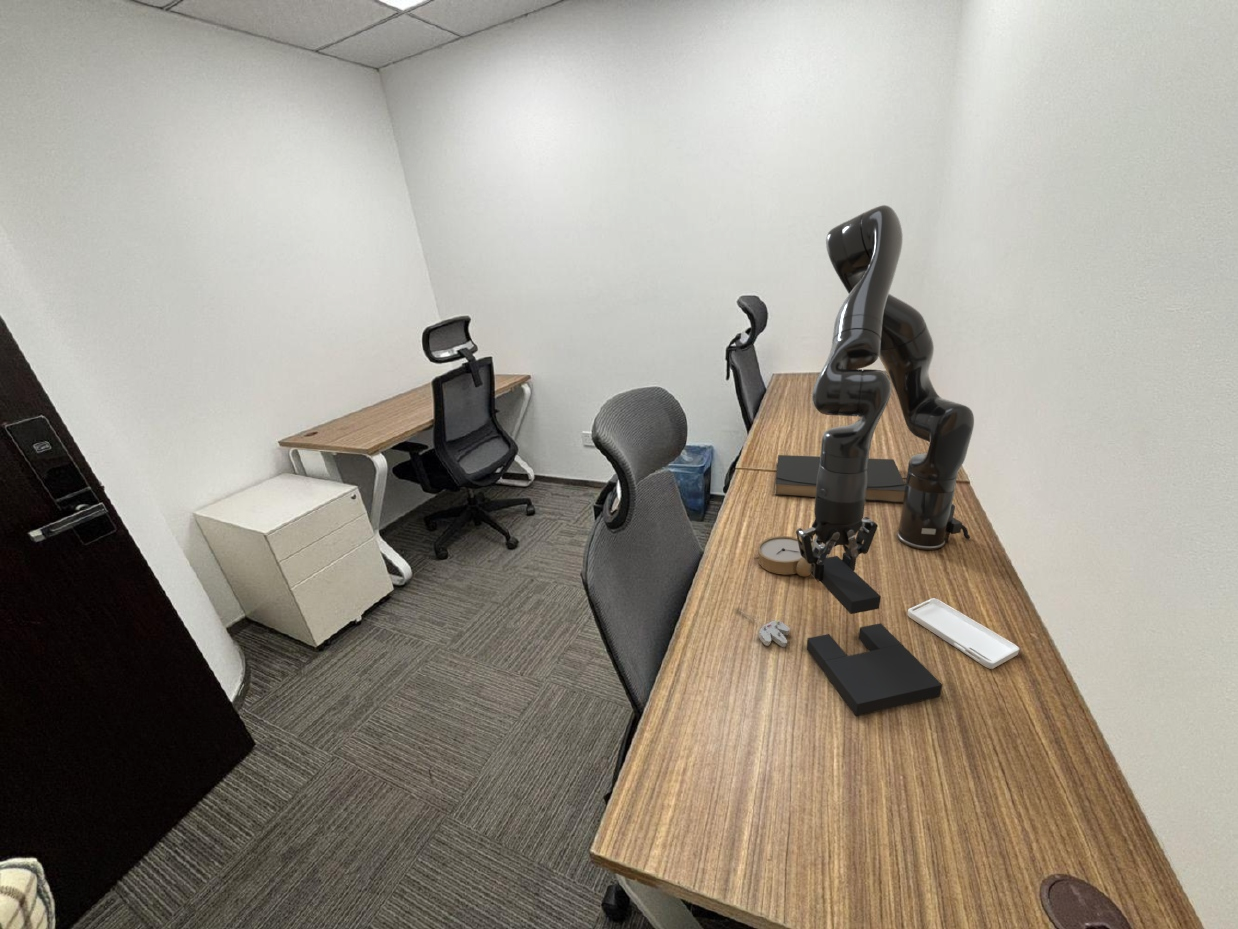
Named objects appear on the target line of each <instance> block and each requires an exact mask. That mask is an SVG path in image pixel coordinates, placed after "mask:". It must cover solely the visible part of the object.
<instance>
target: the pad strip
mask: <svg viewBox="0 0 1238 929" xmlns="http://www.w3.org/2000/svg"><path fill="white" fill-rule="evenodd" d="M823 564H824V572H823V580H822V581H820V584H822V585H823V587H825V589H826V590H827V591H828V592H829V593H830V594H831V595H832V596H833V597H834V598H835V599H836V601H838V602H839V603H840V605H841V606H842V607H843V608H844V609H845V610H846V611H847V612H848V613H849V614H850V615H854V614H859V613H864V612H869V611H875V610H879V609H880V605H881V599H882V596H881V595H880V594H879V593H878V592H877V591H876V590H875V589H874V588H873V587H872V586H871V585H869V583H867V582H866V581H865V580H864V579H863V577H861V576H860V575H859V574H858V573H857V572H855V570H854V571H853V570H852V569H851V568H850V567H849V566H848V565H847V564H846V563H844V562H843V561H842V558H840V557H839V556H838V555H833V556H828V558H825V560H824V562H823Z"/></svg>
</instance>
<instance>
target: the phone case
mask: <svg viewBox="0 0 1238 929" xmlns="http://www.w3.org/2000/svg"><path fill="white" fill-rule="evenodd" d="M906 614H907V617H909V619H911V620H912V621H914V622H915V623H917V624H919V625H920V626H922V627H923V628H925V629H926V630H928V631H930V632H931V633H933V634H934V635H936V636H937V637H939V638H941V639H942V640H943V641H945V642H946V643H948V644H949V645H951V646H953V647H954V648H955V649H957V650H958V651H960V652H962V653H963V654H965V655H966V656H968V657H970V658H971V659H972V660H974V661H975V662H977V663H978V664H980V665H982V666H983V667H985V668H987V669H989V670H993V669H995V668H996V667H999V666H1000V665H1002V664H1004V663H1006V662H1007V661H1010V660H1011V659H1013V658H1015V657H1016V656H1018V655H1019V652H1020V646H1017V644H1015V643H1014V642H1011V641H1010V640H1008V639H1007V638H1005V637H1004V636H1001V635H1000V634H998V633H996V632H995V631H993V630H992V629H990V628H988V627H987V626H984V625H983V624H981V623H979V622H977V621H976V620H974V619H972V618H971V617H969V616H968V615H965V614H964V613H962V612H961V611H959V610H957V609H955V608H954V607H952V606H950V605H948V604H947V603H945V602H944V601H941V600H940V599H938V598H935V597H931V598H929V599H927V600H925V601H923V602H920V603H919V604H916V605H914V606H912V607H909V608H908V610H907V613H906Z"/></svg>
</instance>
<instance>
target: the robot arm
mask: <svg viewBox="0 0 1238 929" xmlns="http://www.w3.org/2000/svg"><path fill="white" fill-rule="evenodd" d="M899 218H900V217H899V216H898V214H897V212H896V211H895V210H894V208H892V207H891V206H890V205H885V204H883V205H878V206H875V207H873V208H871V209H868V210H866V211H865V212H861V213H860V214H858V215H857V216H854V217H851V218H850V219H848V220H846V221H844V222H842V223H840V224H838V225H835V226H834V227H832V228H831V229H830V230H829V231H828V232H827V234H826V237H825V246H826V247H825V248H826V252H827V256H828V259H829V261H830V263H831V265H832V268H833V269H834V271H835V273H836V275H837V277H838V278H839V280H840V281H841V283H842V286H843V287H844V288H845V290H846V292H847V293H848V295H847V296H846V298H845V300H844V301H843V302H842V304H841V306H840V307H839V309H838V312H837V314H836V317H835V321H834V326H833V332H832V339H831V340H832V341H831V347H830V351H829V354H828V357H827V359H826V361H825V364H824V365H823V367H822V369H821V371H820V373H819V374H818V376H817V379H816V381H815V383H814V385H813V389H812V395H811V396H812V398H811V399H812V404H813V406H814V407H815V409H816V410H817V412H818V413H820V414H821V415H826V416H839V417H841V416H843V417H858V419H857V420H856V421H855V422H853V423H851V424H847V425H841V426H835V427H831V428H828V429H827V430H825V431H824V432H823V434H822V436H821V437H822V438H821V444H820V456H819V457H820V466H819V470H818V475H817V484H816V496H815V497H814V498H815V499H814V509H813V512H814V520H813V522H812V525H811V527H809V528H806V529H803V528H802V527H801V528H799V527H798V528H797V529H796V531H795V534H796V538H797V540H798V545H799V550H800V554H801V556H802V557H803V558H804V559H805V560H806V561H807V562H808V563H809V564H811V569H810V573H811V574H810V575H811V576H812V578H813V579H814V580H816V582H817V583H819V582H820V581H822V580H823V572H824V564H823V562H824V560H825V558H826V556H828V555H830V554H831V552H832V551H833V549H834V548H835V547H837V546H842V548H843V551H844V552H843V553H842V558H841V560H842V561H843V562H844V563H846V564H847V565H848V566H849V567H850V568H851V569H852V570H853V571H854V572H855V570H856V564H857V559H858V558H859V555H861V554H862V555H866V554H867V553H869V550H870V548H871V546H872V543H873V540H874V538H875V537H874V536H875V535H876V532H877V530H878V527H879V526H878V523H876V522H874V521H873V520H872V519H870V518H869V517H868V516H864V515H865V514H864V513H865V505H866V501H865V498H866V491H867V482H868V475H867V469H868V460H869V458H870V451H871V446H872V445H871V444H872V442H873V441H872V440H873V437H874V434H875V431H876V430H877V426H878V423H879V421H880V420H881V417H882V416H883V413H884V412H885V409H886V407H887V406H888V404H889V401H890V398H891V396H892V395H891V394H892V387H893V389H894V391H895V393H896V396H897V399H898V402H899V405H900V406H899V407H900V409H901V412H902V416H903V419H904V423H905V425H906V427H907V429H908V430H909V432H910V433H911V434H912V435H913V436H915V437H916V438H919V439H921V440H923V441H926V442H928V443H929V444H928V448H927V452H921V453H916V454H914V455H912V456H911V457H910V458H909V461H908V464H907V472H906V478H905V491H904V498H903V503H901V511H900V519H899V524H898V530H897V535H896V536H897V539H898V540H899V541H900V542H901V543H902V544H904V545H905V546H907V547H910V548H913V549H917V550H923V551H935V550H936V551H937V550H939V549H942V548H943V547H944V546H945V544H948V543H949V540H950V535H955V534H961V531H962V533H963V534H962V535H963V537H964V538H965V539H966V540H970V539H971V536H970V534H969V531H968V528H967V527H966V526H965V525H964V524H963V522H962V521H960V520H958V519H956V518H955V517H954V514H955V511H956V506H955V504H954V503H953V500H954V496H955V490H956V485H957V481H958V475H959V471H960V469H961V467H962V466H963V464H964V463H965V460H966V457H967V453H968V450H969V446H970V443H971V439H972V436H973V432H974V426H975V415H974V412H973V410H972V409H971V408H970V407H969V406H967V405H966V404H962V403H959V402H955V401H953V400H952V401H951V400H949V399H945V398H942V397H941V396H940V395H939V394H938V392H937V391H936V390H935V387H934V384H933V383H932V380H931V378H930V373H929V372H930V367H931V364H932V360H933V357H934V352H935V347H934V346H935V345H934V341H933V338H932V335H931V332H930V330H929V327H928V325H927V322H926V320H925V318H924V316H923V315H922V313H920V311H919V310H918V309H916V308H915V307H914V306H912V305H911V304H909V303H907V302H905V301H903V300H902V299H900V298H898V297H896V296H894V295H893V294H890V291H891V288H892V285H893V282H894V278H895V276H896V272H897V268H898V265H899V261H900V257H901V253H902V249H903V241H904V238H903V235H904V234H903V228H902V224H901V221H900V219H899ZM878 359H879V360H880V361H881V364H882V365H883V367H884V369H885V371H886V372H884V371H883V370H880V369H872V368H871V369H870V368H868V369H864V368H866V367H869V366H872V365H873V364H874V363H875V362H876V361H877V360H878ZM814 536H815V537H814ZM812 542H813V545H814V546H813V549H812V545H811V543H812ZM819 551H820V553H819ZM818 554H819V555H818ZM820 583H821V582H820Z"/></svg>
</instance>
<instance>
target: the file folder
mask: <svg viewBox="0 0 1238 929" xmlns="http://www.w3.org/2000/svg"><path fill="white" fill-rule="evenodd" d="M819 466H820V456H813V455H790V454H789V455H787V454H778V455H777V463H776V474H775V483H774V484H775V485H774V486H775V487H774V496H788V497H803V498H815V496H816V484H817V475H818V470H819ZM867 475H868V482H867V491H866V498H865V502H881V503H895V504H903V498H904V491H905V485H906V482H905V481H904V479H903V476H902V475H901V472H900V470H899V468H898V466H897V464H896V462H895V459H892V458H870V457H869V460H868V469H867Z"/></svg>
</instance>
